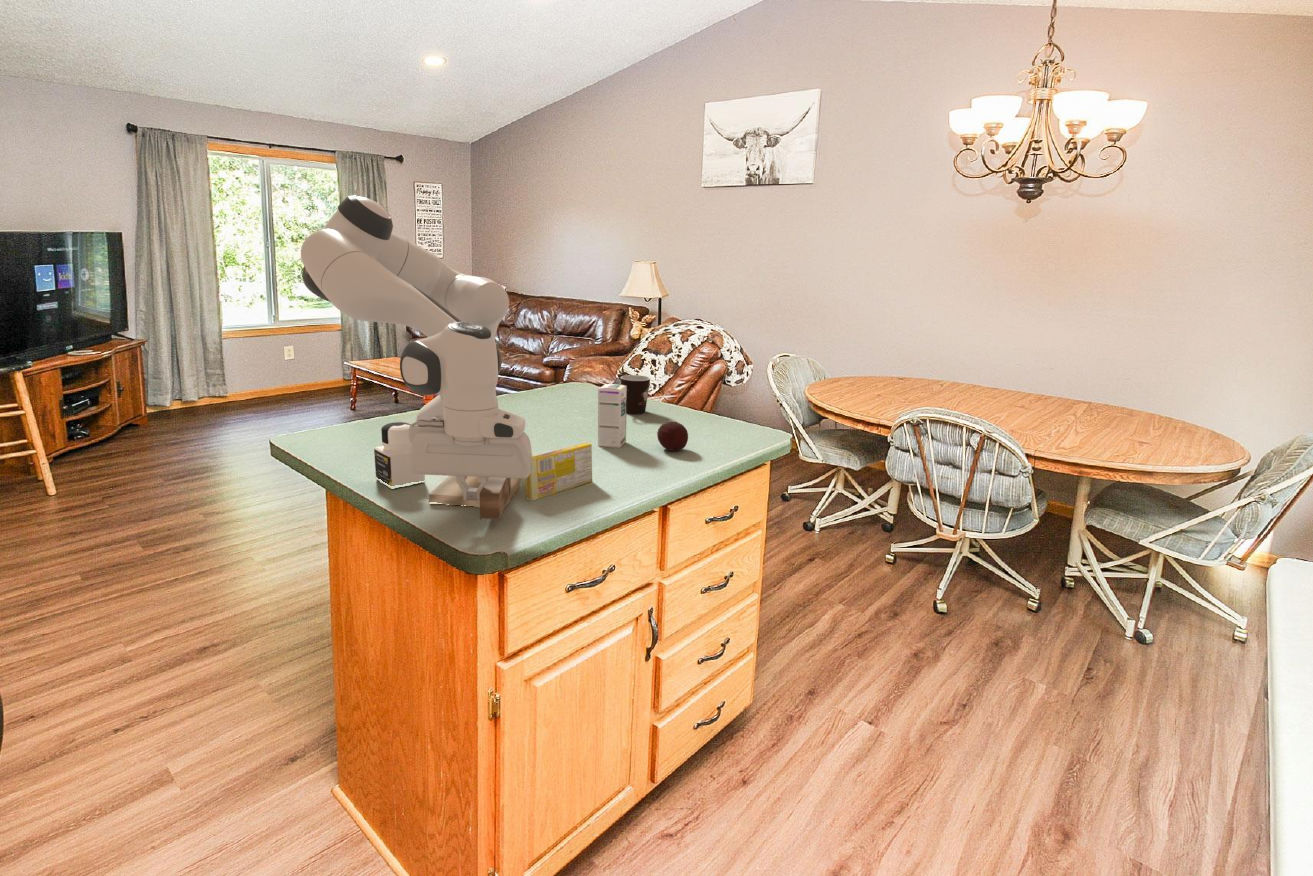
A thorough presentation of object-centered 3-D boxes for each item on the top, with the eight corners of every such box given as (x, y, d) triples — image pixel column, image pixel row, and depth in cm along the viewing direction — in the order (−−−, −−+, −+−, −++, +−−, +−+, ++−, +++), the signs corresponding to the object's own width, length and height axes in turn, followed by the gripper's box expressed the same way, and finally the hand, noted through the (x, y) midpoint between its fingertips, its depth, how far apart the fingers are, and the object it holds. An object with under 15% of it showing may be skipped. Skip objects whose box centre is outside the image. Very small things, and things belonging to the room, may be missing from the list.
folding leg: (492, 490, 138) (492, 467, 137) (512, 490, 138) (511, 468, 137) (479, 518, 124) (478, 493, 123) (500, 519, 124) (499, 494, 123)
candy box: (585, 480, 153) (586, 441, 151) (593, 482, 152) (593, 444, 149) (524, 498, 141) (524, 457, 139) (531, 501, 140) (531, 459, 138)
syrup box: (620, 448, 176) (622, 389, 172) (596, 446, 177) (597, 387, 173) (626, 442, 182) (627, 384, 178) (603, 440, 183) (604, 382, 179)
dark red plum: (673, 456, 171) (675, 427, 170) (650, 449, 177) (651, 420, 175) (694, 450, 177) (695, 422, 175) (670, 443, 182) (672, 416, 180)
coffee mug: (636, 407, 219) (637, 374, 216) (655, 413, 212) (656, 379, 210) (605, 411, 212) (605, 377, 209) (623, 417, 205) (624, 382, 203)
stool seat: (429, 504, 136) (428, 494, 135) (451, 483, 147) (450, 473, 147) (503, 509, 135) (503, 498, 134) (519, 487, 146) (519, 478, 146)
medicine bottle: (375, 481, 147) (371, 423, 144) (409, 474, 152) (406, 418, 149) (391, 490, 142) (387, 430, 139) (425, 483, 147) (423, 425, 144)
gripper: (402, 423, 119) (406, 503, 122) (529, 429, 120) (529, 508, 123) (413, 414, 125) (416, 490, 128) (534, 419, 126) (533, 495, 129)
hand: (472, 499), depth 126 cm, fingers closed
